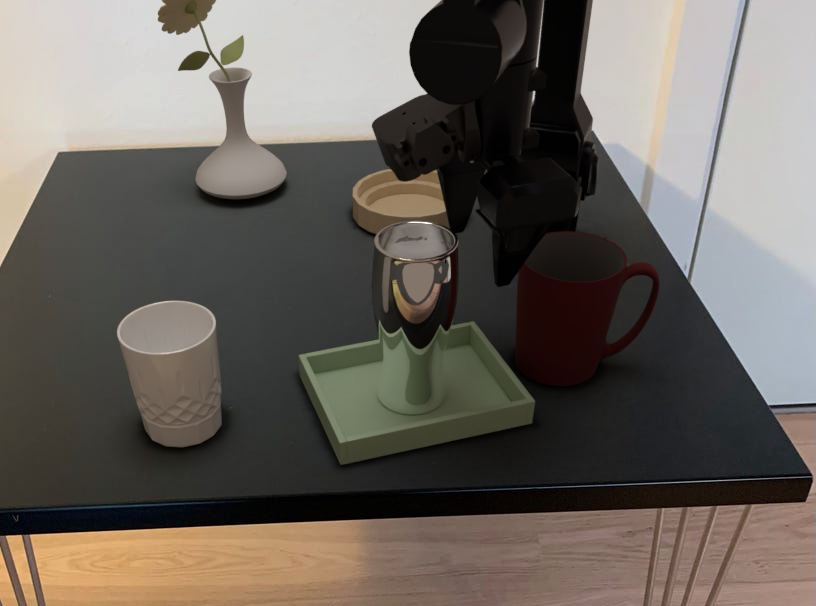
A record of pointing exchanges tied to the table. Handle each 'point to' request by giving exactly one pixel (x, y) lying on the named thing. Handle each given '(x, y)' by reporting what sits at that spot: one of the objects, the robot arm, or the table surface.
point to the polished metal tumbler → (414, 312)
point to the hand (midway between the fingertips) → (478, 257)
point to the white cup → (174, 370)
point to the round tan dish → (397, 200)
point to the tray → (393, 432)
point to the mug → (572, 306)
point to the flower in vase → (238, 154)
